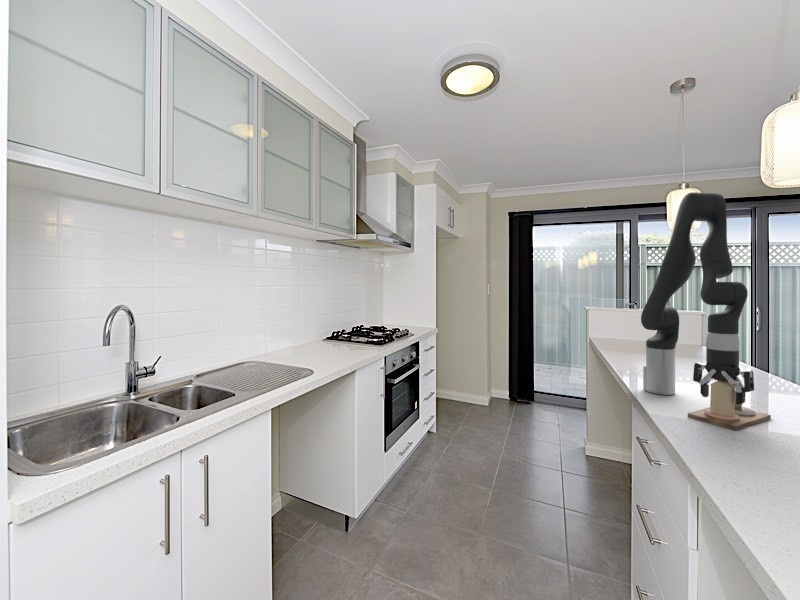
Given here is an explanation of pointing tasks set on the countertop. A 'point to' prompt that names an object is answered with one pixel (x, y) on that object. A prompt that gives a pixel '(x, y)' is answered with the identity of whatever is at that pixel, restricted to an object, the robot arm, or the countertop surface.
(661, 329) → the robot arm
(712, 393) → the candle
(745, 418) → the board
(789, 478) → the countertop surface
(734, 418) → the pad
